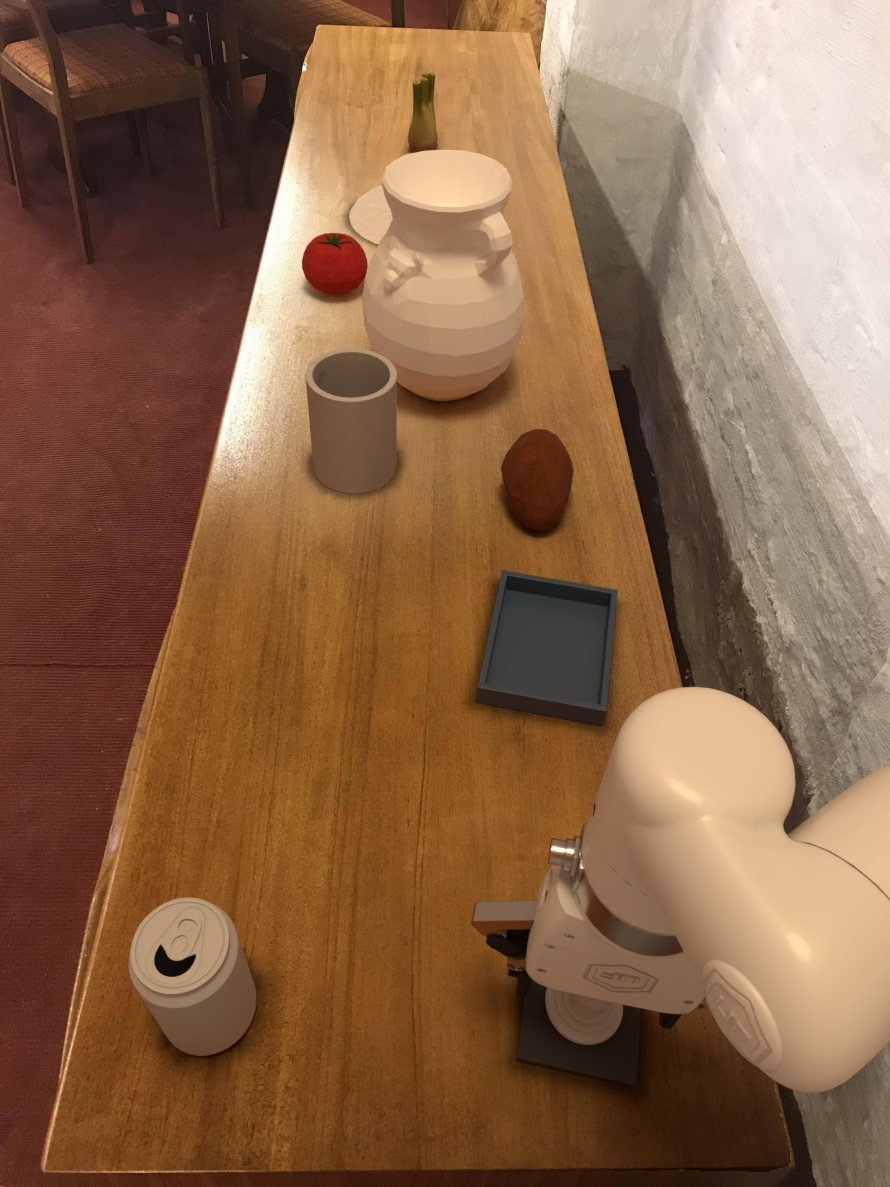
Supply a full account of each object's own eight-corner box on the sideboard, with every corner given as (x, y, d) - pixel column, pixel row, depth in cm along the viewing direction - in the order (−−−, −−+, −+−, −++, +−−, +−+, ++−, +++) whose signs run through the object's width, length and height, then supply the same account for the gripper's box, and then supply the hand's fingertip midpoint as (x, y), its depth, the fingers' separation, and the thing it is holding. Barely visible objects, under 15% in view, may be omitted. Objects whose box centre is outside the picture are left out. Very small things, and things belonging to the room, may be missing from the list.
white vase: (334, 372, 111) (321, 166, 92) (445, 321, 119) (455, 123, 101) (433, 448, 102) (442, 237, 83) (546, 388, 110) (577, 184, 92)
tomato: (381, 286, 125) (380, 230, 119) (342, 313, 119) (339, 257, 113) (330, 266, 127) (327, 211, 121) (290, 292, 122) (285, 236, 116)
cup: (395, 494, 97) (395, 403, 88) (310, 492, 96) (301, 400, 87) (397, 440, 103) (397, 349, 94) (317, 438, 102) (310, 346, 93)
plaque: (424, 175, 147) (424, 166, 146) (507, 225, 138) (507, 216, 136) (323, 215, 139) (322, 205, 138) (404, 271, 129) (404, 262, 128)
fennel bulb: (414, 160, 152) (416, 82, 143) (400, 148, 154) (400, 72, 145) (444, 153, 154) (447, 77, 145) (429, 142, 156) (431, 67, 147)
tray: (602, 726, 78) (606, 711, 76) (475, 702, 79) (477, 687, 78) (613, 605, 87) (618, 589, 86) (500, 585, 89) (502, 569, 87)
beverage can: (146, 1044, 60) (102, 984, 51) (187, 950, 64) (153, 879, 55) (236, 1070, 59) (208, 1014, 50) (271, 973, 63) (251, 905, 54)
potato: (499, 537, 93) (506, 479, 87) (496, 464, 101) (502, 406, 95) (572, 540, 93) (584, 482, 87) (564, 467, 101) (574, 409, 95)
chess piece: (619, 968, 64) (645, 919, 57) (623, 1050, 60) (652, 1008, 54) (543, 962, 64) (561, 913, 57) (544, 1043, 60) (563, 1001, 54)
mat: (635, 1087, 59) (637, 1085, 59) (515, 1060, 60) (516, 1058, 60) (641, 966, 65) (643, 963, 64) (531, 943, 65) (532, 940, 65)
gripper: (468, 911, 44) (452, 1019, 57) (830, 986, 42) (729, 1080, 55) (492, 779, 49) (472, 906, 62) (817, 842, 47) (727, 959, 60)
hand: (593, 988), depth 59 cm, fingers open, 8 cm apart
